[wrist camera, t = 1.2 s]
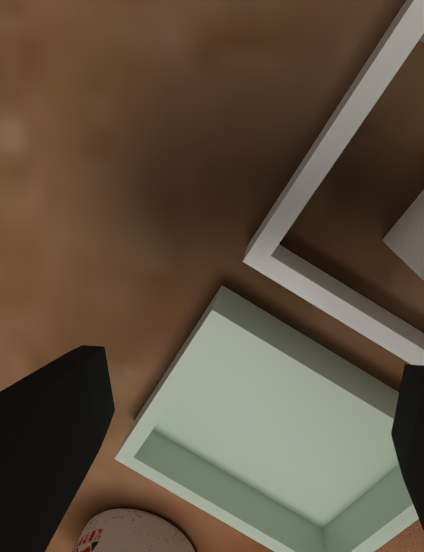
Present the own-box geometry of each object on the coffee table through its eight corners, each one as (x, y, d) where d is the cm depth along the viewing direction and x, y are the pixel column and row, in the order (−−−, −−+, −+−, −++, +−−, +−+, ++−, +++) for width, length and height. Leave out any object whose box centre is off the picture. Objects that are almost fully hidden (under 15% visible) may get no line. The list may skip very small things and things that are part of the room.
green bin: (453, 424, 18) (481, 472, 16) (324, 532, 22) (330, 584, 20) (221, 285, 18) (212, 309, 15) (134, 420, 22) (114, 458, 19)
